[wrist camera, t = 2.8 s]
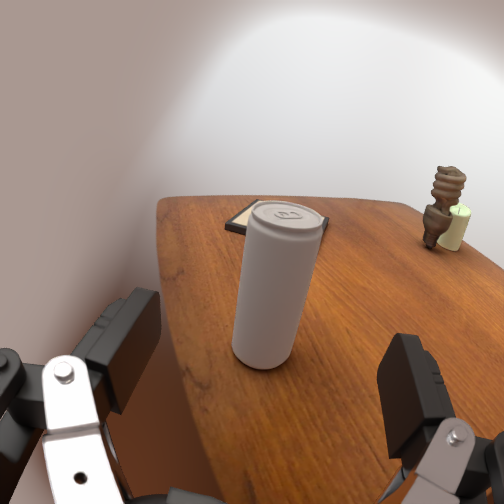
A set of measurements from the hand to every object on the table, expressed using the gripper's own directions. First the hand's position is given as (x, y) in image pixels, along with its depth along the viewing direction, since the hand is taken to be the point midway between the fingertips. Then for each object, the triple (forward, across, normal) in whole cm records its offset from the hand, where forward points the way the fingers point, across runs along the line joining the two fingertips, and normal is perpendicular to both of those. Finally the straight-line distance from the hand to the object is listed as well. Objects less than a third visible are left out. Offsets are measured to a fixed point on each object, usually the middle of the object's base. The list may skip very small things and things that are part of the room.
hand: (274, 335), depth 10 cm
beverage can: (+11, 0, +12) cm, 16 cm away
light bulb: (+41, -26, +12) cm, 50 cm away
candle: (+45, -32, +12) cm, 56 cm away
